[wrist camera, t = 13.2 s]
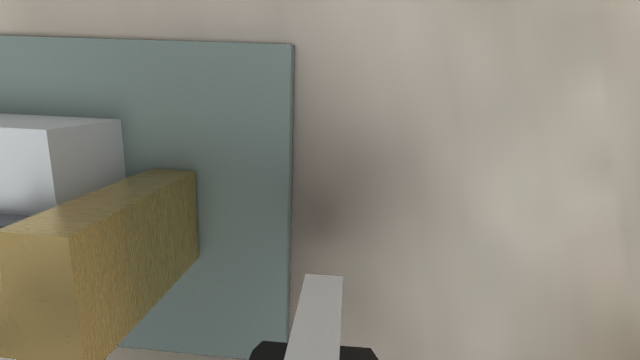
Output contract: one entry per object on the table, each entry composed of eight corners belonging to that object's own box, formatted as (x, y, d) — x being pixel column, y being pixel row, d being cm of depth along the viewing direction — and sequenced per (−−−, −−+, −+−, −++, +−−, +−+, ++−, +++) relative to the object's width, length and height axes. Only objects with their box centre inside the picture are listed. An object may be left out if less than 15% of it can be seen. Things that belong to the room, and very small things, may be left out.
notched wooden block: (107, 250, 22) (-64, 362, 13) (98, 165, 21) (-96, 224, 12) (198, 257, 22) (86, 379, 13) (195, 170, 20) (67, 237, 11)
